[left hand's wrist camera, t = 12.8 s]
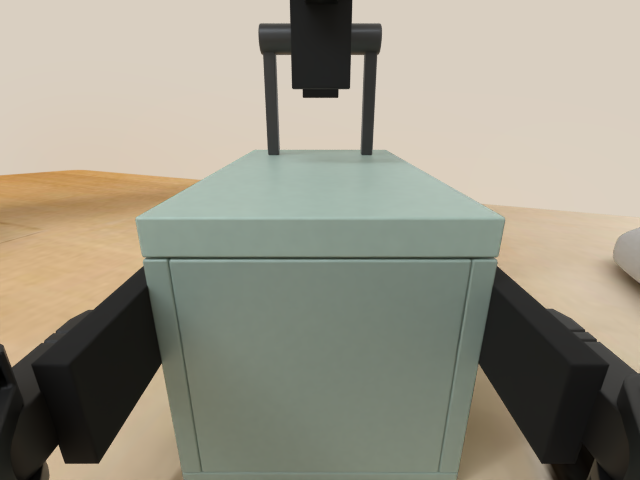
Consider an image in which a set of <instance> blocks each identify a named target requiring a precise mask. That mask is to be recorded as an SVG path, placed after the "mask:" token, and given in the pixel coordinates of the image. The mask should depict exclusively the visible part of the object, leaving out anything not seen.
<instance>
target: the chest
mask: <svg viewBox="0 0 640 480" xmlns="http://www.w3.org/2000/svg"><path fill="white" fill-rule="evenodd" d="M143 265H144V270H145V276H146V281H147V286H148V291H149V296H150V302H151V307H152V312H153V318H154V323H155V329H156V334H157V339H158V345H159V350H160V355H161V361H162V367H163V372H164V378H165V383H166V388H167V394H168V399H169V404H170V410H171V415H172V421H173V426H174V431H175V437H176V442H177V447H178V453H179V458H180V463H181V469H182V472H183V473H182V474H183V479H184V480H457V476H458V470H459V465H460V460H461V454H462V449H463V444H464V438H465V433H466V428H467V422H468V417H469V412H470V406H471V401H472V396H473V390H474V385H475V380H476V374H477V369H478V364H479V358H480V352H481V347H482V342H483V336H484V331H485V326H486V320H487V315H488V310H489V304H490V299H491V293H492V288H493V284H494V278H495V273H496V268H497V260H496V259H495V258H494V257H146V258H145V259H144V260H143Z"/></svg>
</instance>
